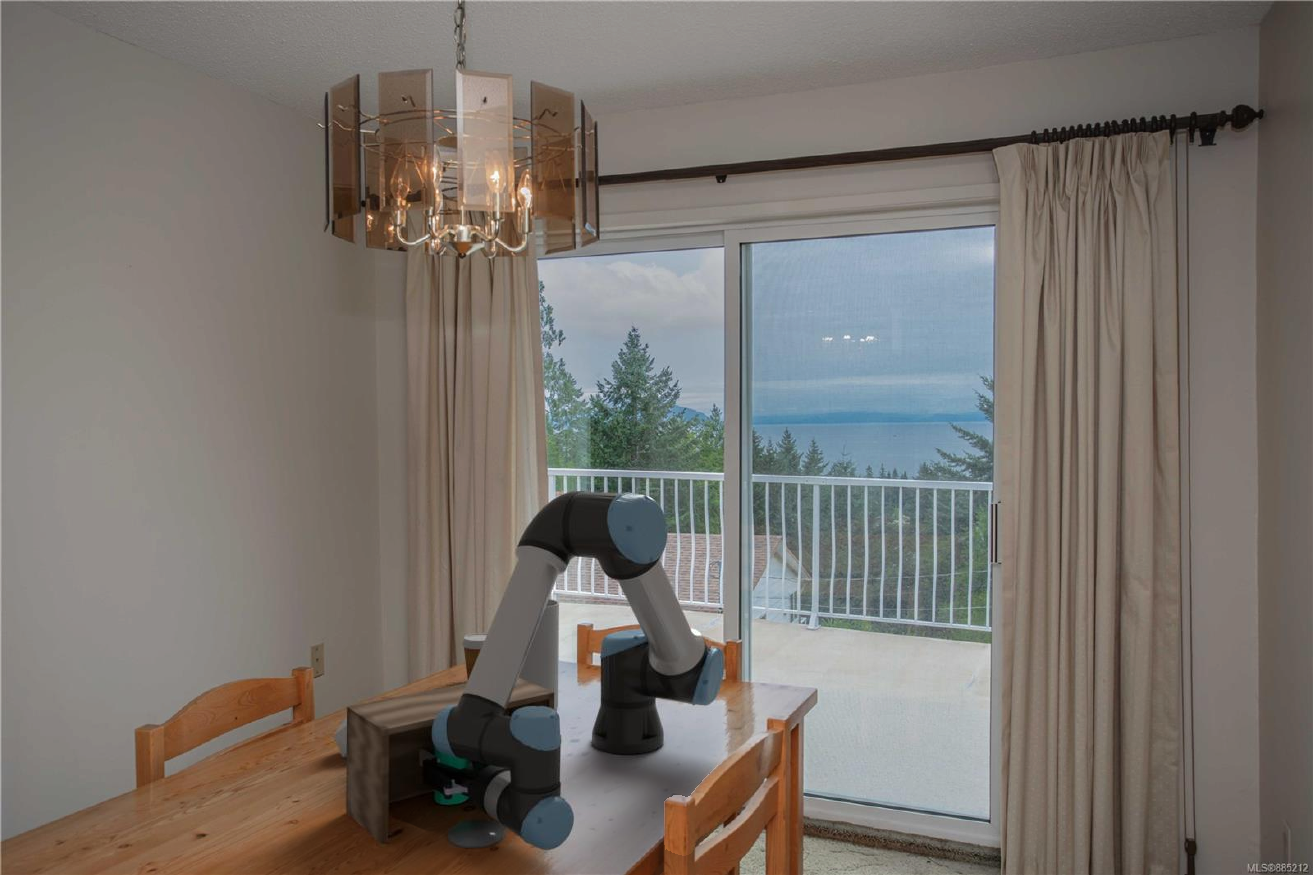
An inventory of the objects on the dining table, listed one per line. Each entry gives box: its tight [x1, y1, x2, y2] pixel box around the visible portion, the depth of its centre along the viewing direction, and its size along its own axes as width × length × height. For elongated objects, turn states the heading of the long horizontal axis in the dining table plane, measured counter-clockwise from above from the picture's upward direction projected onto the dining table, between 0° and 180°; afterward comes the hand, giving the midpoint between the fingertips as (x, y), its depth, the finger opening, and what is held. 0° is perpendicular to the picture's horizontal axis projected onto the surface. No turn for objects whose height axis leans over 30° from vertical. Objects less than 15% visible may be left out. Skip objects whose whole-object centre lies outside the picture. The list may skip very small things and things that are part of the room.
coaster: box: [447, 818, 506, 850], centre depth 140 cm, size 9×9×1 cm
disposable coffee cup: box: [461, 632, 488, 681], centre depth 226 cm, size 10×10×12 cm
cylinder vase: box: [518, 598, 560, 711], centre depth 204 cm, size 12×12×25 cm
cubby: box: [345, 678, 554, 845], centre depth 152 cm, size 15×32×18 cm, turn 130°
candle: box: [434, 747, 470, 806], centre depth 153 cm, size 6×6×12 cm
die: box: [332, 715, 347, 758], centre depth 175 cm, size 8×9×10 cm
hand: (437, 752), depth 157 cm, fingers closed on candle, 5 cm apart
